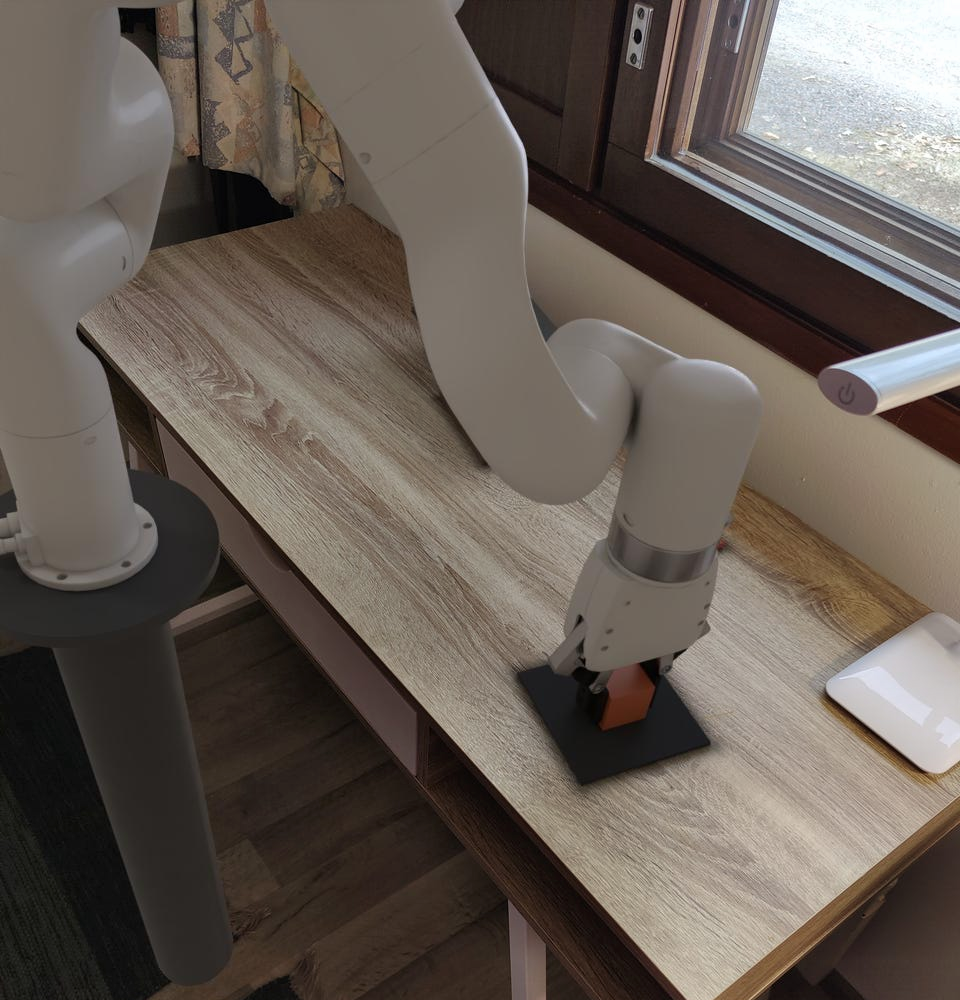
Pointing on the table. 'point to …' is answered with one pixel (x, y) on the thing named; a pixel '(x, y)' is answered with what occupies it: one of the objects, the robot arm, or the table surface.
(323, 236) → the table surface
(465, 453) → the table surface
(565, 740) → the mat
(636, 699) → the block
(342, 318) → the table surface
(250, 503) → the table surface
